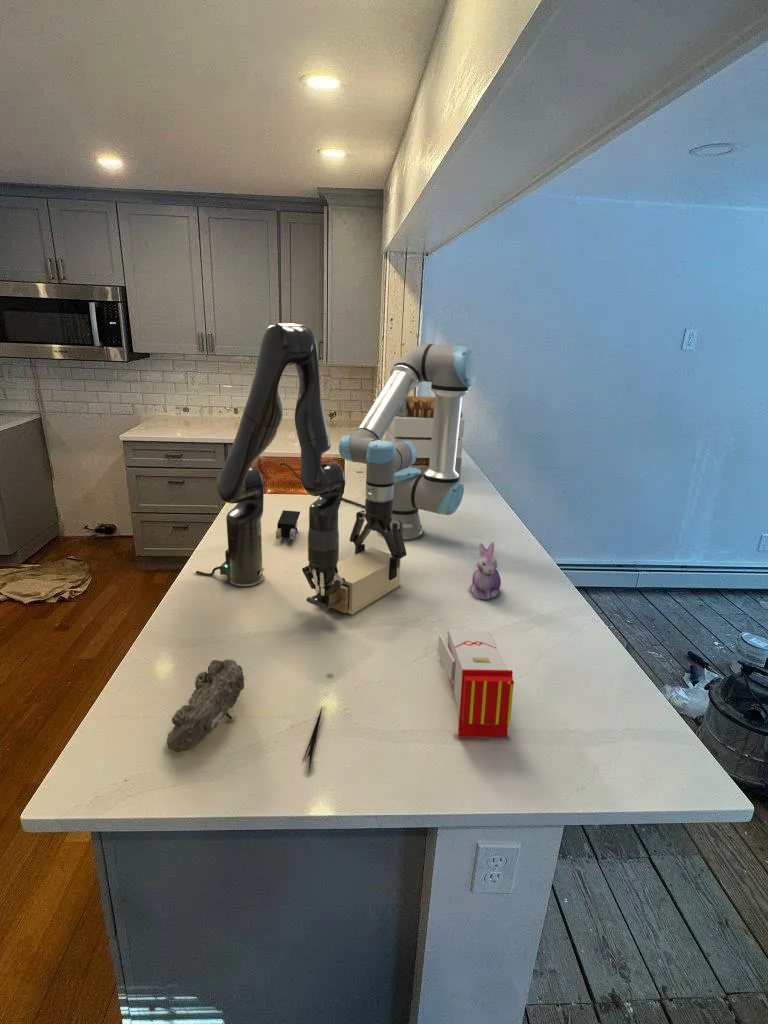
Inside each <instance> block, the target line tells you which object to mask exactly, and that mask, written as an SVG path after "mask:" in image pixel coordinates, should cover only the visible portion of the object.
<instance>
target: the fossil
mask: <svg viewBox="0 0 768 1024" xmlns="http://www.w3.org/2000/svg"><path fill="white" fill-rule="evenodd" d="M243 670H244V669H243V667H242V665H240V664H237V662H236V661H235V660H234V659H232V658H231V659H227V658H226V659H224V660H223V661H222V660H217V659H212V660H211V661H210V663H209V665H208V666H207V671H201V672H199V673H198V674H197V675H196V676H195V680H194V684H195V685H194V687H195V689H194V690H193V693H192V694H191V697H190V698H189V700H188V704H184V705H182V706H181V707H180V709H177V710H176V711H175V713H174V715H173V716H172V718H171V723H172V724H173V727H172V730H171V731H170V732H168V734H167V738H166V741H167V742H166V745H167V749H168V750H169V751H173V752H174V753H176V754H178V753H182V752H188V751H189V752H192V751H193V750H195V748H196V747H197V746H199V744H200V743H201V742H203V741H204V740H205V739H206V738H207V737H208V736H209V735H210V734H211V733H212V732H214V730H215V729H217V727H218V726H219V724H220V722H221V721H222V720H223V719H224V718H225V716H226V717H227V719H229V720H233V717H232V715H230V714H229V710H230V709H231V708H234V706H235V704H236V703H237V702H238V699H239V697H240V695H241V693H242V691H243V690H245V689H244V688H245V675H244V671H243Z"/></svg>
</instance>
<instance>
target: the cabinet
mask: <svg viewBox="0 0 768 1024" xmlns="http://www.w3.org/2000/svg"><path fill="white" fill-rule="evenodd" d="M391 557H392V555H391V553H390V552H386V551H383V550H380V549H377V548H375V547H368V548H365V550H364V551H362V552H360V553H358V554H356V555H355V554H353V555H351V556H350V557H348V558H346V559H344V560H341V561H338V563H337V569H338V575H339V576H340V578H344V579H345V582H344V583H343V584H345V585H348V586H349V607H348V612H347V613H346V614H349V615H351V616H352V615H354V614H356V613H357V612H359V611H361V610H362V609H364V608H366V607H367V606H369V605H371V604H373V602H375V601H377V600H379V599H381V597H383V596H385V595H387V594H388V593H390V592H392V591H394V590H395V589H397V588H398V587H400V582H401V581H400V579H401V563H402V562H401V561H402V560H401V559H402V558H400V564H399V568H397V577H396V578H394V579H392V580H389V565H390V558H391ZM333 580H334V579H333Z"/></svg>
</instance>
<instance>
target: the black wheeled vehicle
mask: <svg viewBox="0 0 768 1024" xmlns="http://www.w3.org/2000/svg"><path fill="white" fill-rule="evenodd" d="M300 515H301V511H296V510H285V509H284V510H283V509H282V512H281V514H280V517H279V518H278V521H277V526H276V532H275V539H276V540H280V544H283V543H284V541H288V542H289V544H292V542H293V540H295V539H296V535H298V534H299V530H298V526H299V524H298V520H299V517H300Z"/></svg>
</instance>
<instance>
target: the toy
mask: <svg viewBox="0 0 768 1024" xmlns="http://www.w3.org/2000/svg"><path fill="white" fill-rule="evenodd" d="M446 640H447V643H446V641H445V639H444V636H443V635H442V634H439V637H438V646H437V656H438V657H439V659H440V661H441V663H442V666H443V668H444V670H445V672H446V674H447V677H448V679H449V681H450V684H451V687H452V690H453V693H454V697H455V701H456V705H457V708H458V711H459V714H458V715H459V716H458V730H457V731H458V732H457V737H458V738H508V731H509V726H510V725H511V717H512V707H513V697H514V696H513V695H514V684H515V680H514V679H513V673H514V671H513V670H512V669H508V667H507V665H506V662H505V661H504V659H503V658H502V655H501V653H500V651H499V649H498V647H497V643H496V639H495V637H494V635H493V634H491V632H490V631H489V629H467V628H466V629H465V628H463V629H461V628H460V629H459V628H448V630H447V639H446Z"/></svg>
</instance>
